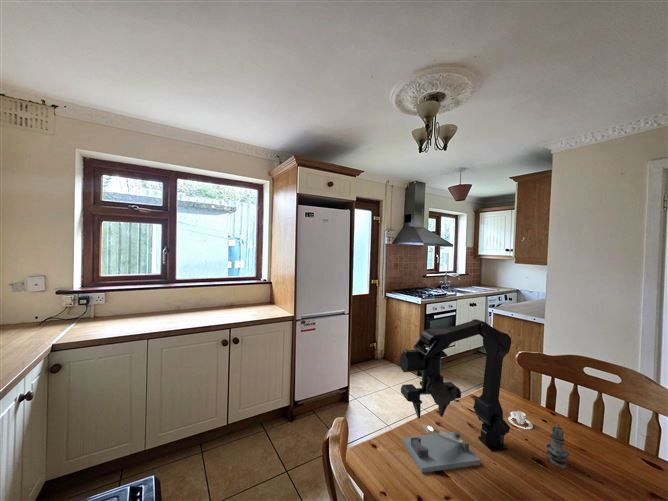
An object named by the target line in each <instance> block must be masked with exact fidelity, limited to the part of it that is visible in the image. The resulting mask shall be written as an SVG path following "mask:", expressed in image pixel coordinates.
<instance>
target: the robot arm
mask: <svg viewBox="0 0 668 501" xmlns="http://www.w3.org/2000/svg"><path fill="white" fill-rule="evenodd" d="M478 335H479V336H480V337H482V346H483V349H484V350H485V352H486V353H485V354H486V356H485V364H484V374H483V383H482V392H481V394H480V396H478V397H475V398H474V399H473V400H474V403H473V404H474V405H473V406H472V407H473V409H474V413H475V415H476V417H477V419H478V420H479V421H480V422H482V423H481V428H480V435H479V436H478V437H477V438H478V440H480V442H482V443H483V444H484V446H485V447H487V449H488V450H490V451H491V452H495V451H502V450H508V446H507V445H506V444H505V436H506V434H509V432H510V429H511V426H510V425H509V424H508V423H507V422H506V421H505V420H504V410H503V407H502V404H501V402H500V399H499V398H500V390H501V389H500V388H501V380H502V374H503V373H502V371H503V362H504V358H505V357H506V356H507V355H508V354H509V353H510V350H511V346H512V337H511V336H510V335H509V333H506V332H504V331H502V330H498V329H497V328H495V327H493V326H491V325H490V324H488V323H487V322H486V321H484V320H481V319H477V318H475V319H472V320H469V321H466V322H463V323H460V324H456V325H454V326H450V327H447V328H427V329H424V330H423V331H422V332H421V334H420V336H419V338H418V340H417V341H416V343H414V345H413V349H403V350H402V353H401V354H400V357H399V360H398V361H399V367H400V369H401V371H402V372H403V373H414V372H417V373H418V372H419V373H421V381H419V386H421V387H416V386H415V385H414V384H412V383H410V384H409V383H406V384H402V385H401V387H400V393H401V395H402V397H404V399H405V400H406V401H408V402H410V403H412V405H413V409H414V411H415V414H416V417H417V419H419V420H420V419H421V407H422V406H421V404H422V403H423V401H422V400H421V396H426V395H427V396H428V395H430V396H431V397H432V399H433V400H434V404H436V405H437V406H438V415H439V417H441V418H442V417H444V416H443V415H444V414H445V411H446V409H447V407H448V406H449V405H450V404H451V402H453V401H456V400H457V399H461V398H462V391H461V389H460V388H459V387H458V386H457V385H455V384H454V383H453V382H452V381H444V376H443V375H442V372H441V371H442V358H447V357H448V354H447V353H446V352H445V351H444V350H446V349H448V348H449V347H450V346H451V344H453V343H455V342H459V341H462V340H465V339H469V338H472V337H475V336H478ZM424 346H425V347H424Z"/></svg>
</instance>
